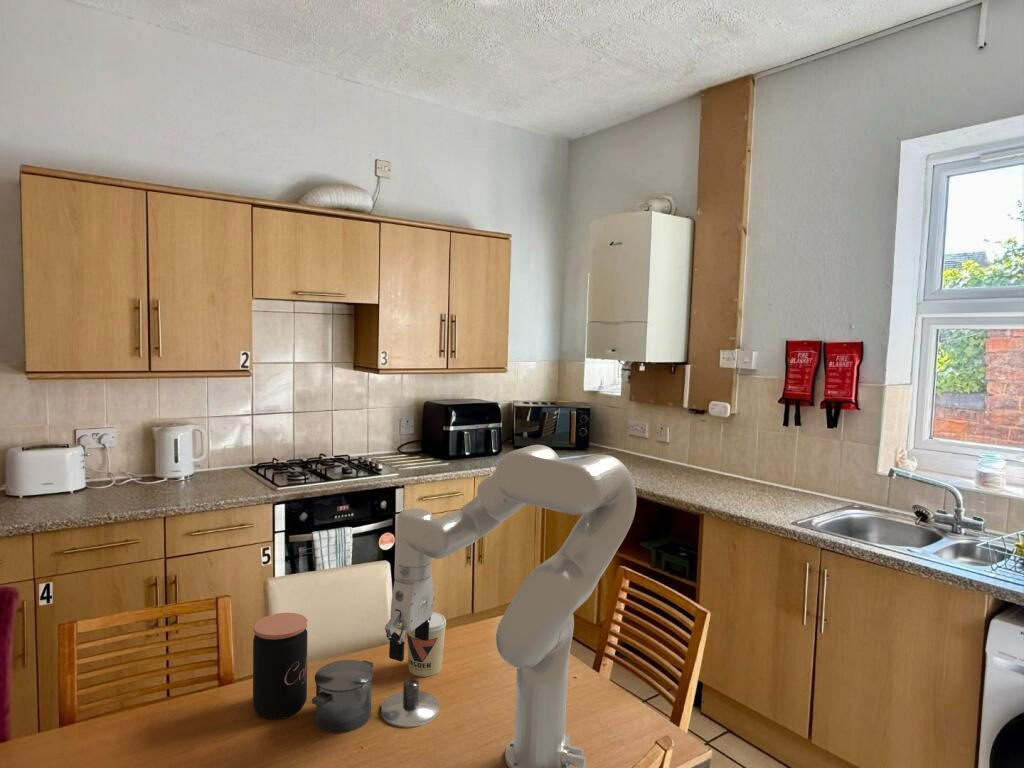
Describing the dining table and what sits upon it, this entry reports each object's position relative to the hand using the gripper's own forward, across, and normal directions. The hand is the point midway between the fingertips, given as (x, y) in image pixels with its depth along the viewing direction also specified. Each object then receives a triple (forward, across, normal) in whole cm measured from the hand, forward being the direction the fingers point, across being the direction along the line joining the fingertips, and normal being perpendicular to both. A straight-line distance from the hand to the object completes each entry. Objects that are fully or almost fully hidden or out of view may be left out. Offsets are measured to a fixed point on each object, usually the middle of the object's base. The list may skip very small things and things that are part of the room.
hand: (409, 648), depth 134 cm
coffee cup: (+14, +16, +5) cm, 21 cm away
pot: (+13, -8, +10) cm, 19 cm away
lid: (+13, 0, -1) cm, 13 cm away
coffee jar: (+14, -11, +24) cm, 30 cm away
